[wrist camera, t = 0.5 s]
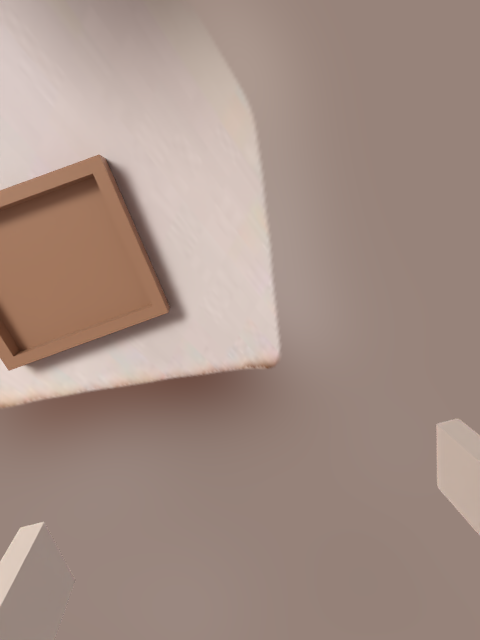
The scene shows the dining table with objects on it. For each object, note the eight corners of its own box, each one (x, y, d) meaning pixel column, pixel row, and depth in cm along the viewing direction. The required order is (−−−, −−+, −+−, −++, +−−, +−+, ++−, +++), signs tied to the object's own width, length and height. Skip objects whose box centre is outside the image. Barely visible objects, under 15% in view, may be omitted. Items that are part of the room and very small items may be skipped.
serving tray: (-70, 222, 31) (-88, 222, 29) (105, 158, 31) (99, 154, 29) (19, 362, 35) (8, 370, 33) (170, 307, 35) (168, 312, 33)
